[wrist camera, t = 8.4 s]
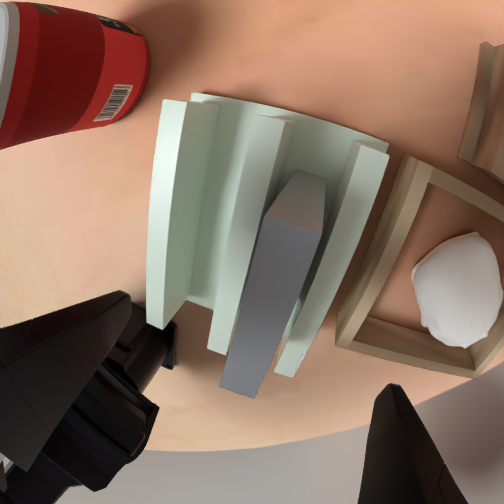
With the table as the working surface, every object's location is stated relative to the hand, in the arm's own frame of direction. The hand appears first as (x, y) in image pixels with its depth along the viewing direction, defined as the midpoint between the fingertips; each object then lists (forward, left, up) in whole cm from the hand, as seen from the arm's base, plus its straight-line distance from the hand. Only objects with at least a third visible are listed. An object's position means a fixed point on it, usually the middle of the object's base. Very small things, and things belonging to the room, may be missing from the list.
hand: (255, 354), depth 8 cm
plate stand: (+12, -11, -10) cm, 19 cm away
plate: (0, 0, -9) cm, 9 cm away
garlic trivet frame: (+1, -11, -10) cm, 15 cm away
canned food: (+8, +15, -10) cm, 20 cm away
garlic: (0, -12, -11) cm, 16 cm away
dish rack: (0, +2, -10) cm, 10 cm away
